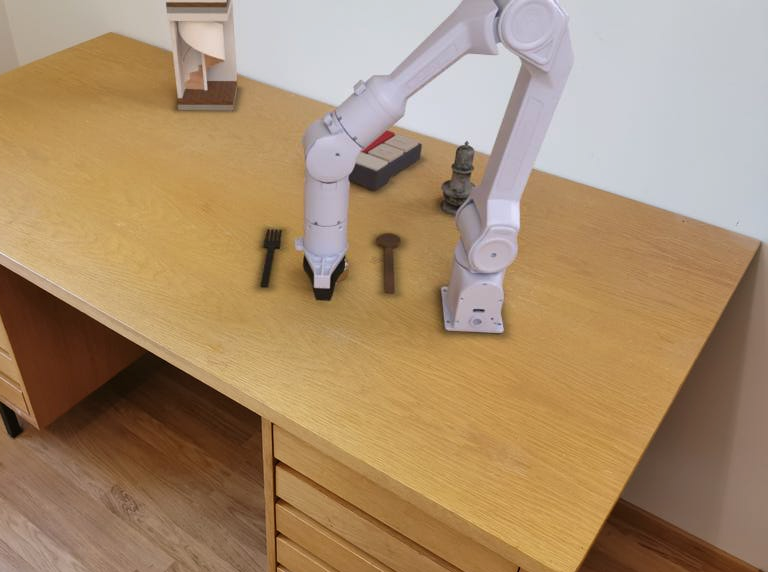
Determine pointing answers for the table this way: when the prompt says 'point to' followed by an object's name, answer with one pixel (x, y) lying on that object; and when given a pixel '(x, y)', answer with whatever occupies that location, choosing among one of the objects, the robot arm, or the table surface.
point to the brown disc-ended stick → (389, 258)
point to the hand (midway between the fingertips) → (323, 297)
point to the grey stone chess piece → (458, 180)
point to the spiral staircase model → (203, 53)
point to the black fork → (270, 254)
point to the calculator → (384, 160)
